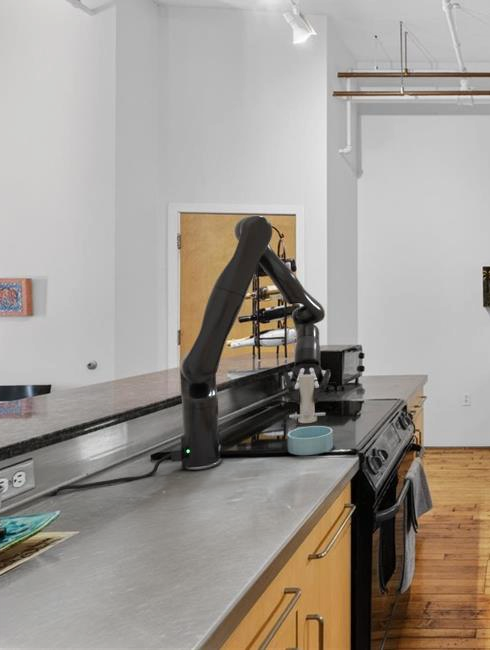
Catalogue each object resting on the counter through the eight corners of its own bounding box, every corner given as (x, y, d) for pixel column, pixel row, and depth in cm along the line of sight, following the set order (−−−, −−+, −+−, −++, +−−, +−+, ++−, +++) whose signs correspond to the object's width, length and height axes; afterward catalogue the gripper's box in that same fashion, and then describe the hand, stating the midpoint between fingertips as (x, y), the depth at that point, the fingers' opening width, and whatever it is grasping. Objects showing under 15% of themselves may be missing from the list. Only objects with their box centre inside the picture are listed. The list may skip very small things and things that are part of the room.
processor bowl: (285, 458, 138) (285, 440, 138) (290, 444, 151) (289, 427, 151) (333, 454, 141) (332, 436, 141) (333, 441, 154) (332, 424, 154)
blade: (288, 426, 129) (286, 379, 129) (290, 418, 138) (289, 374, 137) (325, 423, 131) (324, 377, 131) (325, 415, 140) (324, 372, 139)
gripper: (282, 347, 140) (279, 396, 128) (331, 345, 143) (332, 393, 131) (284, 362, 145) (281, 411, 134) (331, 360, 148) (332, 407, 136)
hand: (306, 401), depth 132 cm, fingers closed on blade, 4 cm apart
